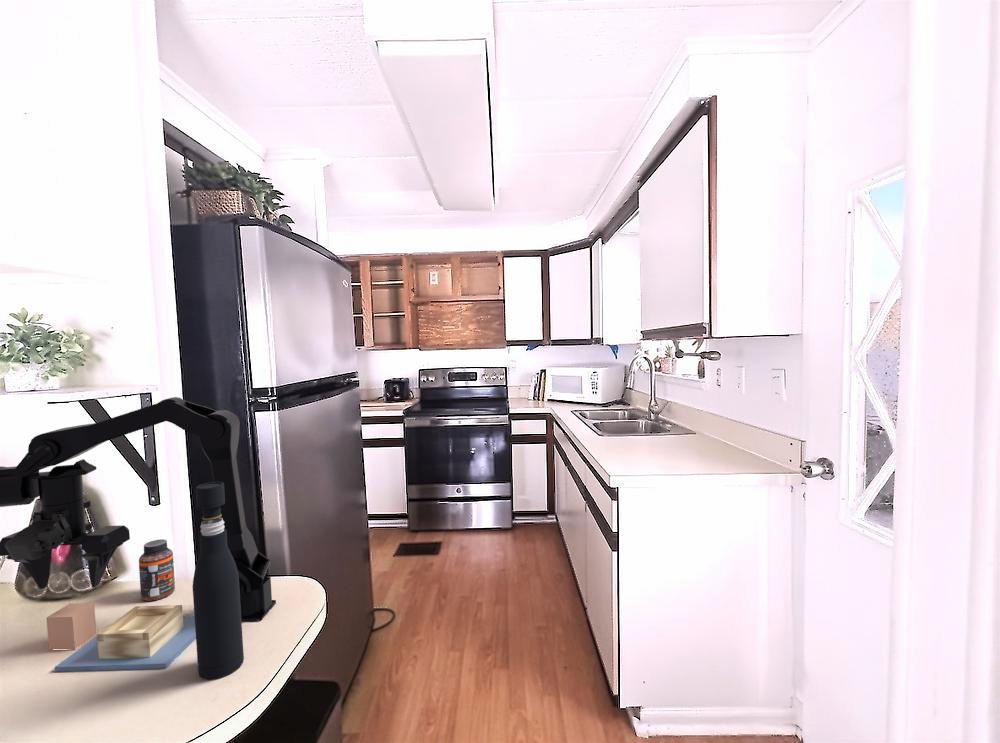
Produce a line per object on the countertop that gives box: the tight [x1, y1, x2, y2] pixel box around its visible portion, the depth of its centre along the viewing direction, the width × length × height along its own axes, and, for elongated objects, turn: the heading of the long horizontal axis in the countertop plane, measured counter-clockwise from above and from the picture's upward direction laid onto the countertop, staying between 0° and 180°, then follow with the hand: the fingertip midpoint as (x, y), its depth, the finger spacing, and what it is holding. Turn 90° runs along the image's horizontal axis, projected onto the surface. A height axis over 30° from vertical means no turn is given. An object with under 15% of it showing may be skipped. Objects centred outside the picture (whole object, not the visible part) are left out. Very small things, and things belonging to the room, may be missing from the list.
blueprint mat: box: [54, 615, 196, 673], centre depth 85 cm, size 18×14×1 cm
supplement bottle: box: [138, 538, 176, 602], centre depth 102 cm, size 6×6×11 cm
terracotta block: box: [45, 602, 98, 651], centre depth 86 cm, size 4×4×6 cm
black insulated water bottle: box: [191, 481, 245, 681], centre depth 77 cm, size 6×6×30 cm
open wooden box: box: [96, 604, 184, 659], centre depth 84 cm, size 8×8×5 cm
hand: (69, 587), depth 86 cm, fingers open, 9 cm apart
